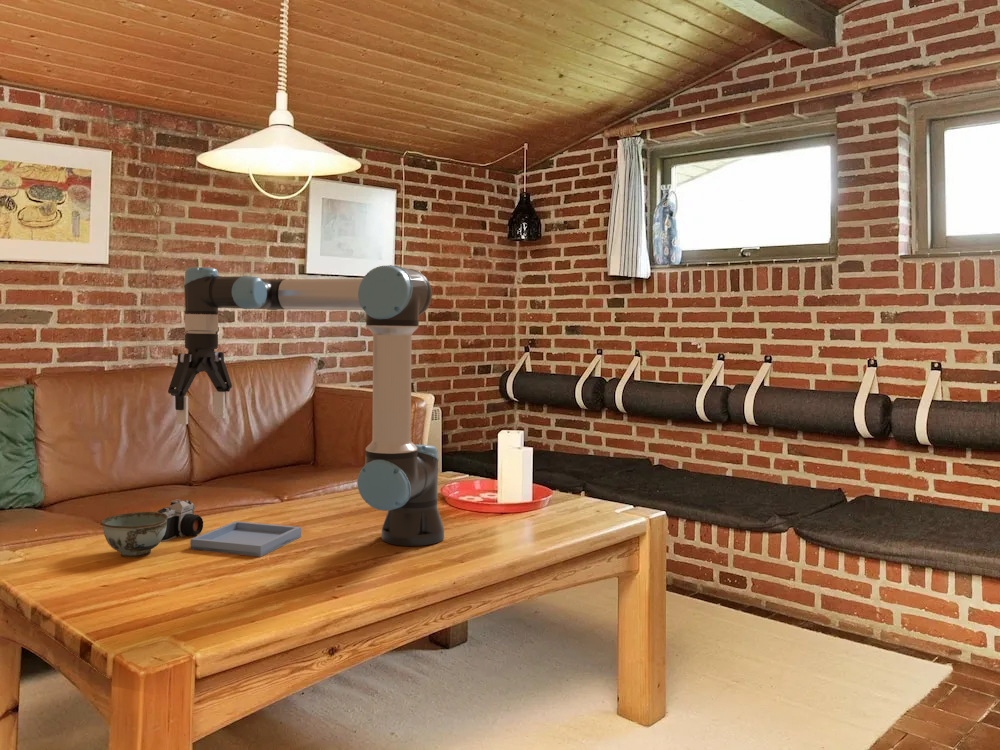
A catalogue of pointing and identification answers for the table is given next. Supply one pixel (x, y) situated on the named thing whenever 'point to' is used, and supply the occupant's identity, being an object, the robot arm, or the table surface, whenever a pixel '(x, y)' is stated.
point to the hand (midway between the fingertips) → (201, 420)
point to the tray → (246, 538)
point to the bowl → (135, 532)
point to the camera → (181, 520)
